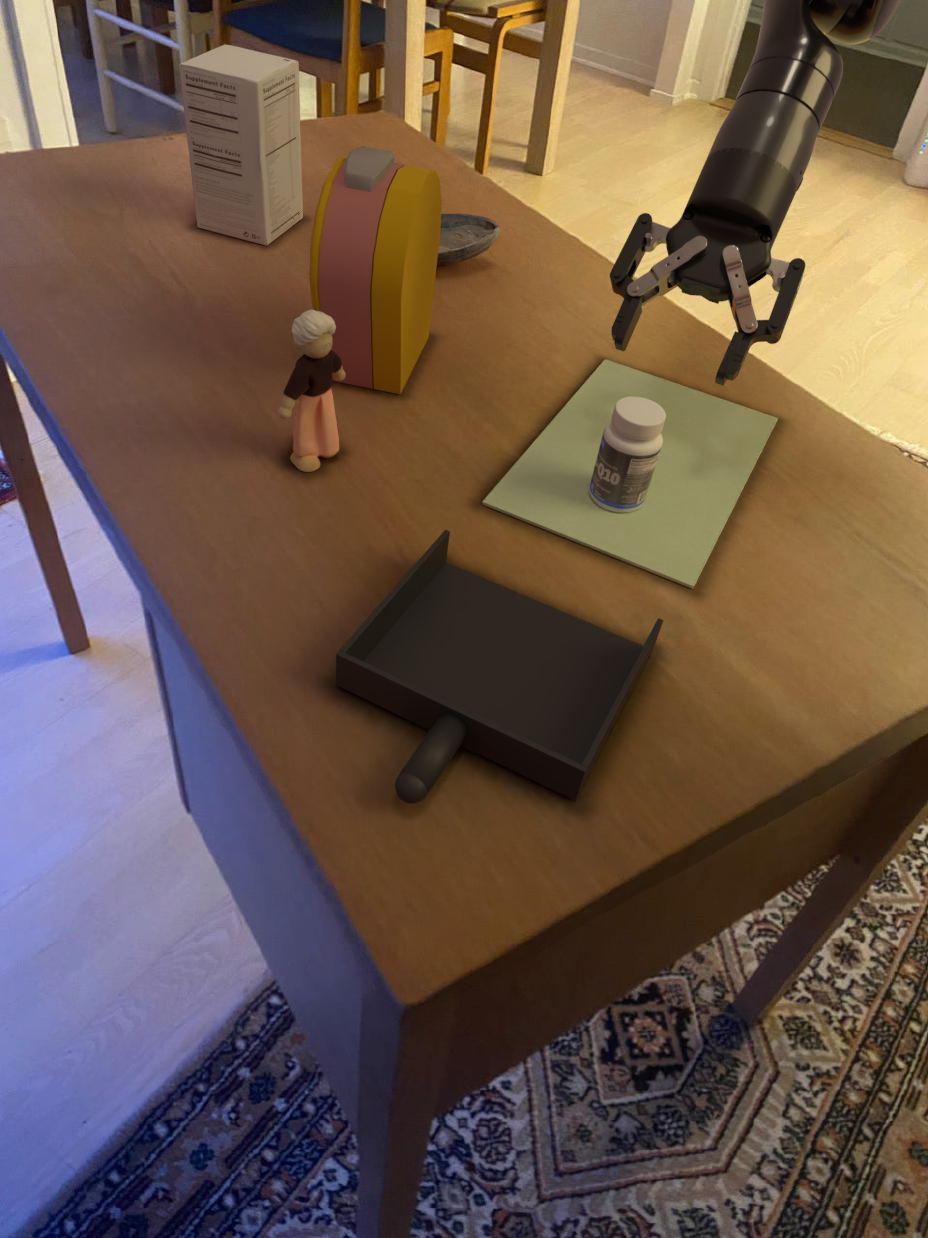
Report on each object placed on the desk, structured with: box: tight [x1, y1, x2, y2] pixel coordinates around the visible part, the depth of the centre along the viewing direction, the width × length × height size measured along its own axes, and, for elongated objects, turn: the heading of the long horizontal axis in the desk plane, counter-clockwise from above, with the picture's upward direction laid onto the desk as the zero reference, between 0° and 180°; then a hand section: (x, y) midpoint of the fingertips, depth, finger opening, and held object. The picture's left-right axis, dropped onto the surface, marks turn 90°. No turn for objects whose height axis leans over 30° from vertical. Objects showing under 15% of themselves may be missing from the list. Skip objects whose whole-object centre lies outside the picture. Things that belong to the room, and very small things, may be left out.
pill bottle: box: [589, 397, 666, 513], centre depth 72 cm, size 5×5×8 cm
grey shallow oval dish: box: [437, 213, 502, 266], centre depth 102 cm, size 15×12×5 cm
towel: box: [481, 358, 779, 590], centre depth 79 cm, size 28×18×1 cm, turn 153°
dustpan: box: [335, 529, 665, 805], centre depth 57 cm, size 20×17×3 cm
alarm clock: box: [308, 146, 443, 395], centre depth 81 cm, size 15×8×18 cm, turn 168°
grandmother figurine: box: [277, 309, 346, 473], centre depth 71 cm, size 8×4×13 cm, turn 160°
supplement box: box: [178, 44, 304, 247], centre depth 99 cm, size 10×9×17 cm
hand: (668, 364), depth 72 cm, fingers open, 8 cm apart
